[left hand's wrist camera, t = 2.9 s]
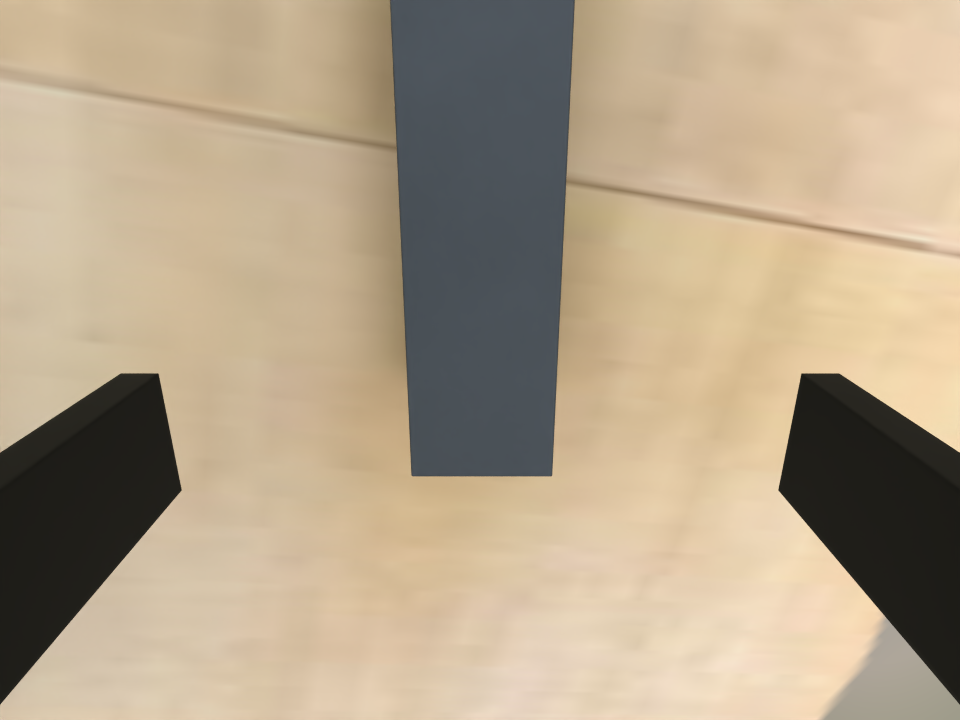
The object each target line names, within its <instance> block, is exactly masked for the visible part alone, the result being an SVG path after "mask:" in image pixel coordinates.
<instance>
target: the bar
mask: <svg viewBox="0 0 960 720" xmlns="http://www.w3.org/2000/svg"><path fill="white" fill-rule="evenodd" d="M574 4H575V0H390V8H391V30H392V52H393V74H394V97H395V119H396V141H397V163H398V185H399V207H400V230H401V252H402V274H403V296H404V318H405V340H406V363H407V385H408V407H409V429H410V451H411V473H412V476H552V467H553V446H554V425H555V403H556V382H557V361H558V340H559V319H560V298H561V277H562V256H563V235H564V214H565V193H566V172H567V151H568V130H569V109H570V88H571V67H572V46H573V25H574Z"/></svg>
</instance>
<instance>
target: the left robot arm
mask: <svg viewBox="0 0 960 720" xmlns="http://www.w3.org/2000/svg"><path fill="white" fill-rule="evenodd" d="M180 492H181V485H180V480H179V475H178V470H177V465H176V460H175V454H174V449H173V444H172V439H171V434H170V429H169V424H168V419H167V414H166V409H165V404H164V399H163V394H162V389H161V384H160V379H159V374H120V375H118V376H116V377H115V378H113V379H112V380H110V381H109V382H107V383H106V384H104V385H103V386H101V387H100V388H98V389H97V390H95V391H94V392H92V393H91V394H89V395H88V396H86V397H84V398H83V399H81V400H80V401H78V402H77V403H75V404H74V405H72V406H71V407H69V408H68V409H66V410H65V411H63V412H62V413H60V414H59V415H57V416H56V417H54V418H52V419H51V420H49V421H48V422H46V423H45V424H43V425H42V426H40V427H39V428H37V429H36V430H34V431H33V432H31V433H30V434H28V435H27V436H25V437H24V438H22V439H20V440H19V441H17V442H16V443H14V444H13V445H11V446H10V447H8V448H7V449H5V450H4V451H2V452H1V453H0V704H1V703H2V702H3V701H4V699H5V698H6V697H7V696H8V695H9V693H10V692H11V691H12V690H13V689H14V688H15V686H16V685H17V684H18V683H19V682H20V680H21V679H22V678H23V677H24V676H25V675H26V673H27V672H28V671H29V670H30V669H31V667H32V666H33V665H34V664H35V663H36V662H37V660H38V659H39V658H40V657H41V656H42V654H43V653H44V652H45V651H46V650H47V649H48V647H49V646H50V645H51V644H52V643H53V641H54V640H55V639H56V638H57V637H58V636H59V634H60V633H61V632H62V631H63V630H64V629H65V627H66V626H67V625H68V624H69V623H70V621H71V620H72V619H73V618H74V617H75V616H76V614H77V613H78V612H79V611H80V610H81V608H82V607H83V606H84V605H85V604H86V603H87V601H88V600H89V599H90V598H91V597H92V595H93V594H94V593H95V592H96V591H97V590H98V588H99V587H100V586H101V585H102V584H103V582H104V581H105V580H106V579H107V578H108V577H109V575H110V574H111V573H112V572H113V571H114V569H115V568H116V567H117V566H118V565H119V564H120V562H121V561H122V560H123V559H124V558H125V556H126V555H127V554H128V553H129V552H130V551H131V549H132V548H133V547H134V546H135V545H136V543H137V542H138V541H139V540H140V539H141V538H142V536H143V535H144V534H145V533H146V532H147V530H148V529H149V528H150V527H151V526H152V525H153V523H154V522H155V521H156V520H157V519H158V517H159V516H160V515H161V514H162V513H163V512H164V510H165V509H166V508H167V507H168V506H169V505H170V503H171V502H172V501H173V500H174V499H175V497H176V496H177V495H178V494H179V493H180ZM779 492H780V493H781V494H782V495H783V496H784V497H785V499H786V500H787V501H788V502H789V503H790V505H791V506H792V507H793V508H794V509H795V510H796V512H797V513H798V514H799V515H800V516H801V518H802V519H803V520H804V521H805V522H806V523H807V525H808V526H809V527H810V528H811V529H812V530H813V532H814V533H815V534H816V535H817V536H818V538H819V539H820V540H821V541H822V542H823V543H824V545H825V546H826V547H827V548H828V549H829V551H830V552H831V553H832V554H833V555H834V556H835V558H836V559H837V560H838V561H839V562H840V564H841V565H842V566H843V567H844V568H845V569H846V571H847V572H848V573H849V574H850V575H851V577H852V578H853V579H854V580H855V581H856V582H857V584H858V585H859V586H860V587H861V588H862V590H863V591H864V592H865V593H866V594H867V595H868V597H869V598H870V599H871V600H872V601H873V603H874V604H875V605H876V606H877V607H878V608H879V610H880V611H881V612H882V613H883V614H884V616H885V617H886V618H887V619H888V620H889V621H890V623H891V624H892V625H893V626H894V627H895V628H896V630H897V631H898V632H899V633H900V634H901V636H902V637H903V638H904V639H905V640H906V641H907V643H908V644H909V645H910V646H911V647H912V649H913V650H914V651H915V652H916V653H917V654H918V656H919V657H920V658H921V659H922V660H923V662H924V663H925V664H926V665H927V666H928V667H929V669H930V670H931V671H932V672H933V673H934V675H935V676H936V677H937V678H938V679H939V680H940V682H941V683H942V684H943V685H944V686H945V688H946V689H947V690H948V691H949V692H950V693H951V695H952V696H953V697H954V698H955V699H956V700H957V702H958V703H959V704H960V453H959V452H958V451H956V450H955V449H953V448H952V447H950V446H949V445H947V444H946V443H944V442H943V441H941V440H940V439H938V438H936V437H935V436H933V435H932V434H930V433H929V432H927V431H926V430H924V429H923V428H921V427H920V426H918V425H917V424H915V423H914V422H912V421H911V420H909V419H908V418H906V417H904V416H903V415H901V414H900V413H898V412H897V411H895V410H894V409H892V408H891V407H889V406H888V405H886V404H885V403H883V402H882V401H880V400H879V399H877V398H876V397H874V396H872V395H871V394H869V393H868V392H866V391H865V390H863V389H862V388H860V387H859V386H857V385H856V384H854V383H853V382H851V381H850V380H848V379H847V378H845V377H844V376H842V375H840V374H801V379H800V384H799V389H798V394H797V399H796V404H795V409H794V414H793V419H792V424H791V429H790V434H789V439H788V444H787V449H786V454H785V460H784V465H783V470H782V475H781V480H780V485H779Z"/></svg>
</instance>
